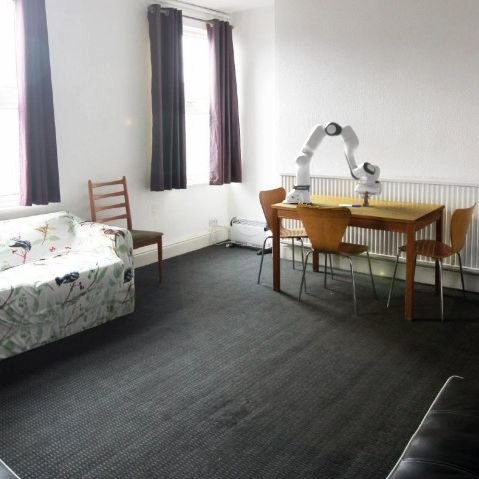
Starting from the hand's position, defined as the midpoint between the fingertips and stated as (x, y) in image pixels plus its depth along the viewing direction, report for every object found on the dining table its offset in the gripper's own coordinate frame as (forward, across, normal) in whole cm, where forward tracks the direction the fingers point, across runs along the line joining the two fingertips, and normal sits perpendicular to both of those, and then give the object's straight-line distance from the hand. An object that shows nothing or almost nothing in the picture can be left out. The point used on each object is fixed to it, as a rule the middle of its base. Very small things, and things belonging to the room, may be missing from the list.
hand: (365, 198), depth 431 cm
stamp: (+4, 0, +5) cm, 6 cm away
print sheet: (+7, -14, +1) cm, 16 cm away
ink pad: (+6, -6, +2) cm, 9 cm away
